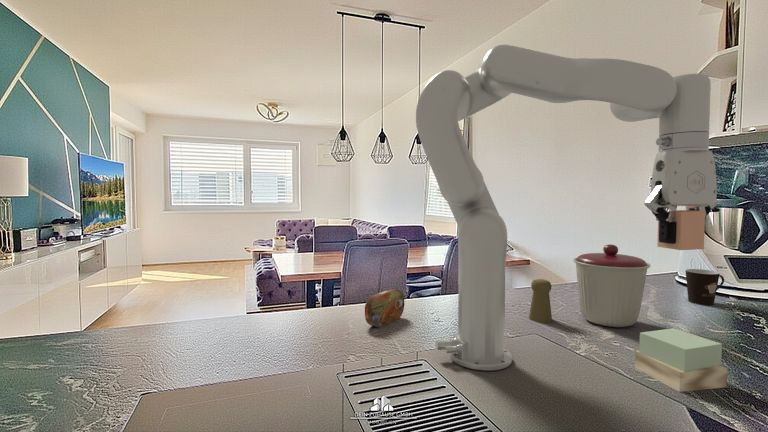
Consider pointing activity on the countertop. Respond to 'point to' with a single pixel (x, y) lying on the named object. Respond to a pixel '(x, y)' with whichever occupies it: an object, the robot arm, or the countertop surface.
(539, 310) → the cork
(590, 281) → the canister
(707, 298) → the coffee mug
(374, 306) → the tin
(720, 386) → the bottom block
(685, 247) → the terracotta block
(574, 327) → the countertop surface
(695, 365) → the top block
